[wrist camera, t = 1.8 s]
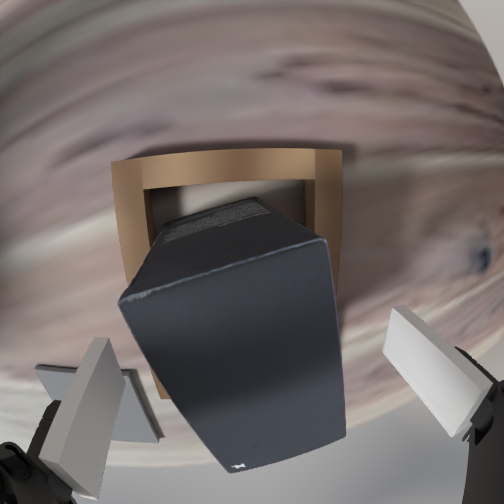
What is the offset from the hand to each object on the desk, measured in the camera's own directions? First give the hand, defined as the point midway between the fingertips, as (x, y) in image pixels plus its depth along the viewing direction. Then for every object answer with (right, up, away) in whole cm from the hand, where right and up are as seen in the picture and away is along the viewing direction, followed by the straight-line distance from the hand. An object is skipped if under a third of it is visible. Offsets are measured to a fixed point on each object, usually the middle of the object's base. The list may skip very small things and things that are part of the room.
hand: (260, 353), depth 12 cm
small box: (-2, +2, +7) cm, 8 cm away
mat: (-15, -10, +9) cm, 20 cm away
